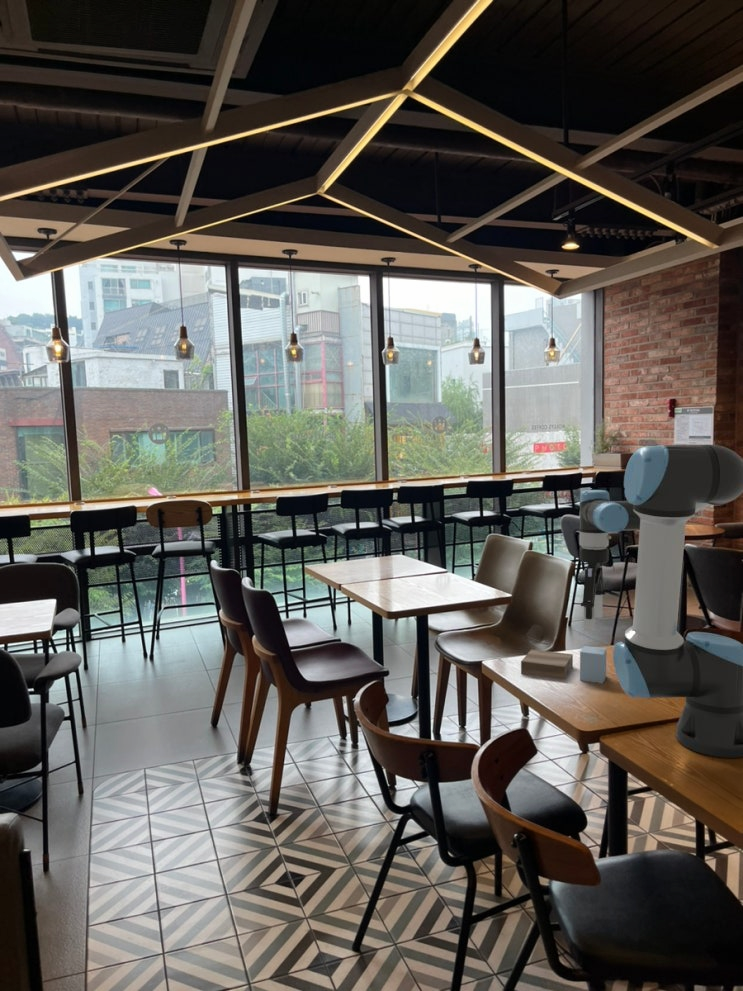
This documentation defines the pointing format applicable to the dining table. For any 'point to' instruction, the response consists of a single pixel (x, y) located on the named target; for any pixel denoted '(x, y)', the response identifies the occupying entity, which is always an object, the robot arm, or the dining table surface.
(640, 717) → the dining table surface
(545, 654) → the walnut block
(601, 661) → the slate block
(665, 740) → the dining table surface
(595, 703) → the dining table surface
